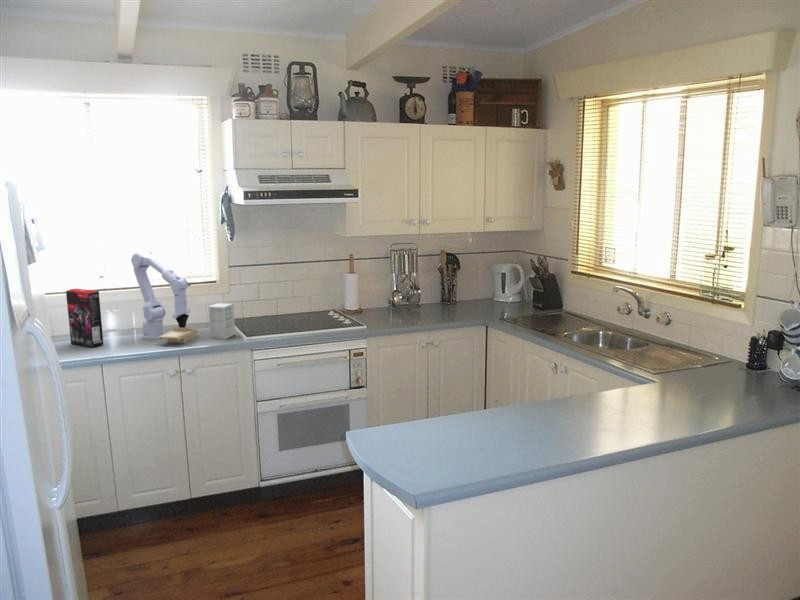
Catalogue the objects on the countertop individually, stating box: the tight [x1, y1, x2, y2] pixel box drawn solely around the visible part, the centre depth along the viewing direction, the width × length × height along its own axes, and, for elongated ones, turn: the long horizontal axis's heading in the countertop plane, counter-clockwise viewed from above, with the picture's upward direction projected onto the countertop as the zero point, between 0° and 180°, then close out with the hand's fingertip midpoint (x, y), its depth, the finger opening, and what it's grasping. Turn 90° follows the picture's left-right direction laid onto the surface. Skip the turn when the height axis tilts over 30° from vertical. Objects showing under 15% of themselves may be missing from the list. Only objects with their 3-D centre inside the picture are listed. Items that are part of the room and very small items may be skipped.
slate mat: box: [153, 334, 210, 347], centre depth 335 cm, size 19×22×1 cm
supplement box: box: [208, 302, 236, 340], centre depth 341 cm, size 10×9×17 cm
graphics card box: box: [65, 288, 104, 348], centre depth 327 cm, size 17×7×27 cm, turn 62°
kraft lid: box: [158, 326, 192, 341], centre depth 329 cm, size 10×14×3 cm
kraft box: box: [166, 328, 199, 343], centre depth 336 cm, size 9×14×4 cm, turn 169°
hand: (182, 329), depth 336 cm, fingers closed
